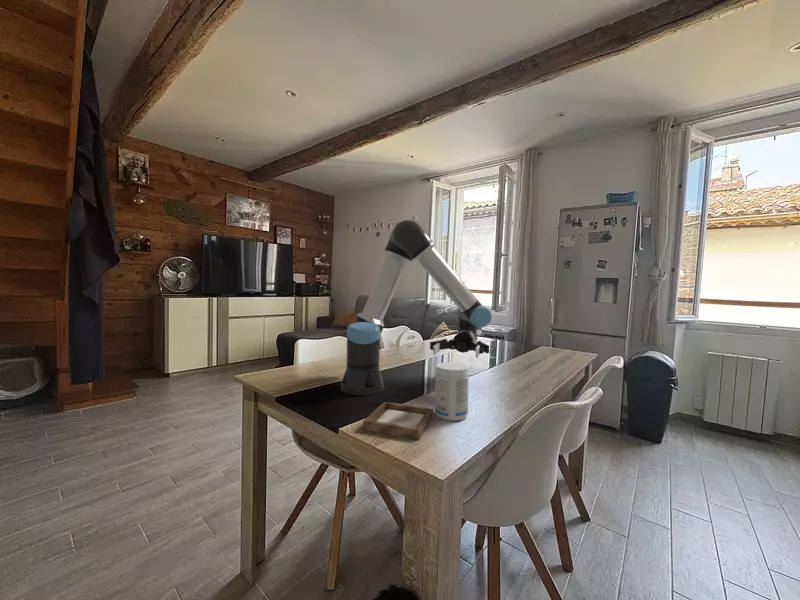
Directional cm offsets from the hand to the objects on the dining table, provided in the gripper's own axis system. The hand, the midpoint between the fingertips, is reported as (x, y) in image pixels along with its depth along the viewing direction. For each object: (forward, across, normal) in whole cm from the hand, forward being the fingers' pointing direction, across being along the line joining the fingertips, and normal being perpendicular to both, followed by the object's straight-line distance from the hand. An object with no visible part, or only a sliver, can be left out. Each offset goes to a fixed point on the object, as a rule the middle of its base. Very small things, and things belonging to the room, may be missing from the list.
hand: (455, 351), depth 106 cm
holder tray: (+22, +12, -16) cm, 29 cm away
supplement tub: (+11, -1, -17) cm, 20 cm away
